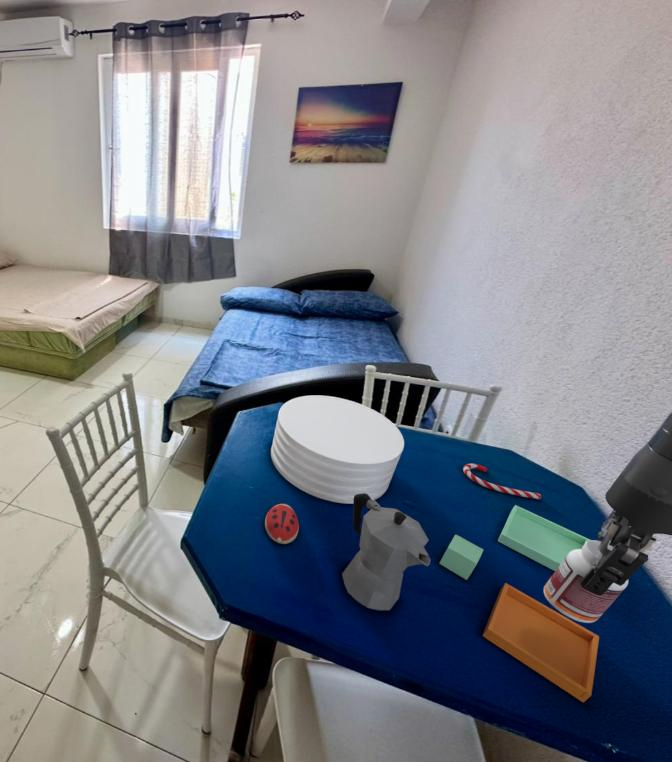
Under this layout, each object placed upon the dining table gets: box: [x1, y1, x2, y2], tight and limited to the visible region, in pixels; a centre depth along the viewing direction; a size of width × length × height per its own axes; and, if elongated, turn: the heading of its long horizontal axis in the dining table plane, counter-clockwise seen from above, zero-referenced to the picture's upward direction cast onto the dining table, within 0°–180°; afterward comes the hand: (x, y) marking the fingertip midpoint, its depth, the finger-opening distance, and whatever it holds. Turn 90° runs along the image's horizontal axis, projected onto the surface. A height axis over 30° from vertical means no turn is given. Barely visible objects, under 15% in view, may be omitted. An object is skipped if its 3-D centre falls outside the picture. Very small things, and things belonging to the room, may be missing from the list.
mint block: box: [438, 533, 484, 581], centre depth 76 cm, size 5×5×5 cm
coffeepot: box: [341, 493, 431, 611], centre depth 69 cm, size 15×9×18 cm, turn 16°
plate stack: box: [270, 394, 405, 505], centre depth 100 cm, size 28×28×12 cm
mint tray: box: [497, 504, 591, 572], centre depth 82 cm, size 12×12×2 cm
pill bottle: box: [543, 539, 629, 624], centre depth 58 cm, size 6×6×11 cm
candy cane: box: [462, 463, 542, 500], centre depth 97 cm, size 8×1×15 cm
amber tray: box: [482, 582, 600, 704], centre depth 65 cm, size 12×12×2 cm
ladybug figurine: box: [264, 503, 300, 545], centre depth 83 cm, size 7×10×4 cm
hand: (592, 574), depth 57 cm, fingers closed on pill bottle, 6 cm apart
